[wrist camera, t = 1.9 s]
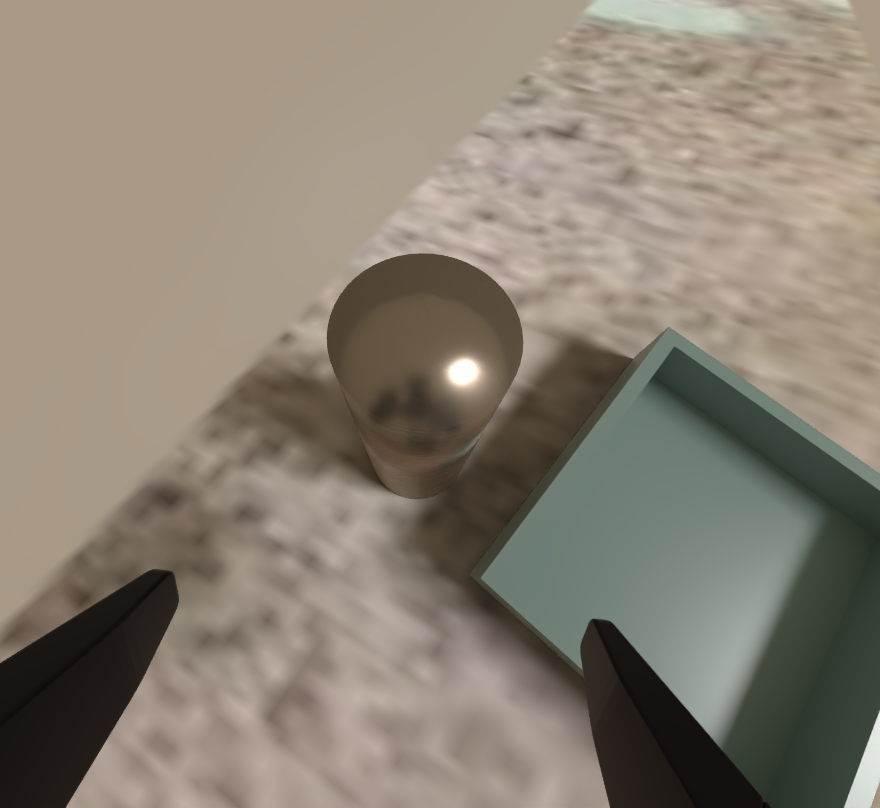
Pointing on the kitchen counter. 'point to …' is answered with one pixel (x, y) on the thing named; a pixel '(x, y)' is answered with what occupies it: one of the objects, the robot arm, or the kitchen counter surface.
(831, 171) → the kitchen counter surface
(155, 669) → the kitchen counter surface
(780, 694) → the tray
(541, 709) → the kitchen counter surface
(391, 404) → the canister
